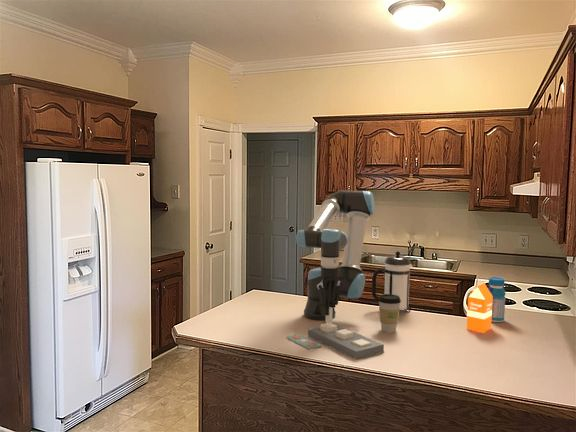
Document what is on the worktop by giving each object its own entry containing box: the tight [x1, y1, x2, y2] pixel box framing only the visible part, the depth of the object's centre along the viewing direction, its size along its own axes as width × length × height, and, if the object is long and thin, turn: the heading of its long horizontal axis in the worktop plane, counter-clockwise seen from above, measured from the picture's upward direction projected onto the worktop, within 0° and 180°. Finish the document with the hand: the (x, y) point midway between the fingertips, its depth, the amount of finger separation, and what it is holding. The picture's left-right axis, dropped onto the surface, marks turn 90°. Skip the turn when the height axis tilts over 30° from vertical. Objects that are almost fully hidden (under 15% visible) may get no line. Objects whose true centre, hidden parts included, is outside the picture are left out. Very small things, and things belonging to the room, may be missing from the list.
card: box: [285, 334, 322, 351], centre depth 194 cm, size 16×6×1 cm, turn 34°
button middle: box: [336, 328, 354, 340], centre depth 193 cm, size 5×5×4 cm
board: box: [307, 323, 385, 360], centre depth 193 cm, size 30×14×3 cm, turn 34°
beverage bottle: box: [487, 276, 506, 323], centre depth 227 cm, size 8×8×20 cm
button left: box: [319, 322, 338, 333], centre depth 201 cm, size 5×5×4 cm
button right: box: [352, 339, 371, 348], centre depth 185 cm, size 5×5×4 cm
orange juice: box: [466, 282, 493, 334], centre depth 213 cm, size 8×9×20 cm
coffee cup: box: [377, 294, 401, 333], centre depth 210 cm, size 10×10×15 cm
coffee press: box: [371, 251, 413, 314], centre depth 241 cm, size 17×16×30 cm
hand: (328, 322), depth 201 cm, fingers closed
